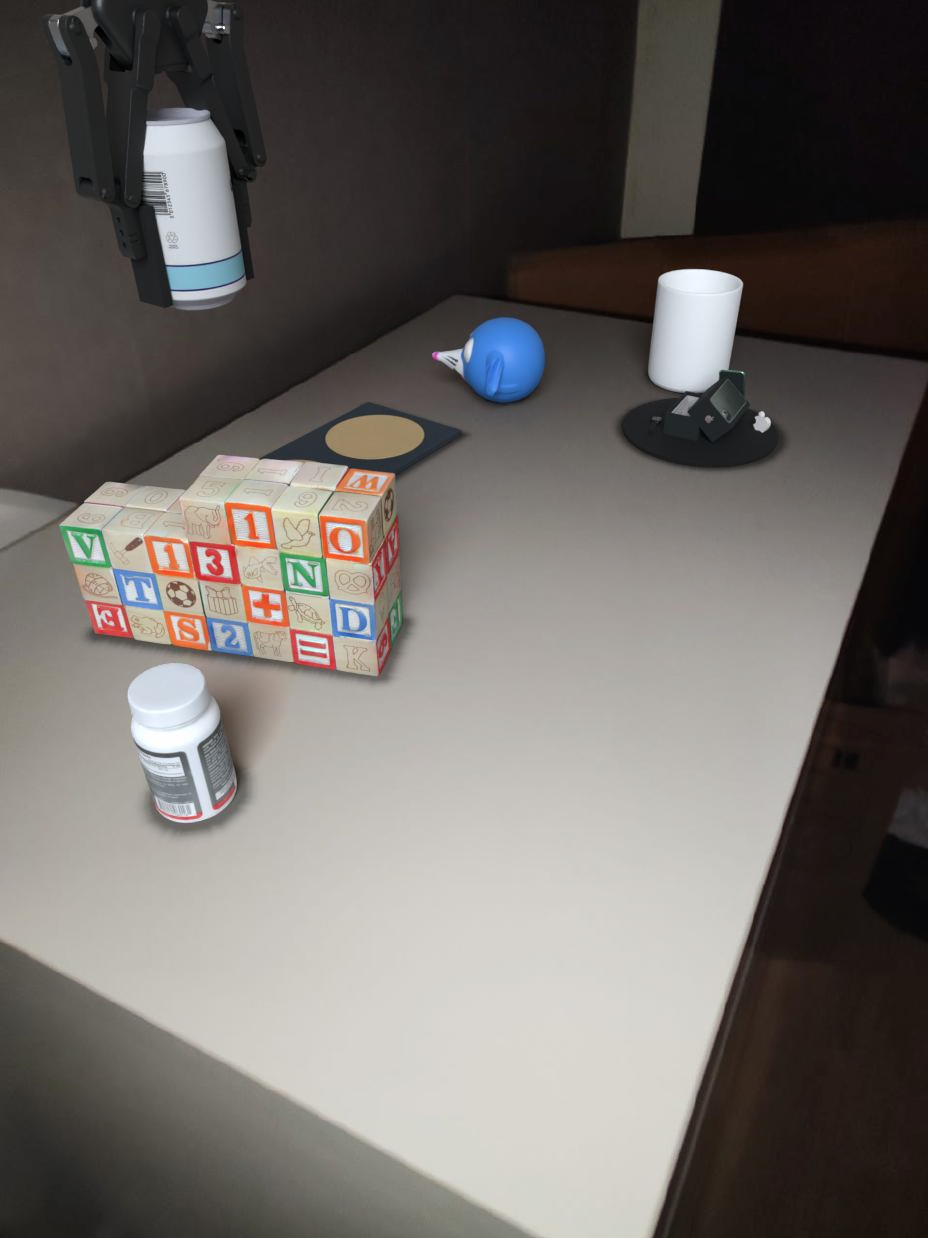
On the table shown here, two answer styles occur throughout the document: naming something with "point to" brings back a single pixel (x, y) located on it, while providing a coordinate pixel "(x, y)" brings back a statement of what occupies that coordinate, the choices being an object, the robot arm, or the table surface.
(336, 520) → the stack of blocks
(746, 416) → the apple device display stand
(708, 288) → the mug
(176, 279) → the beverage can
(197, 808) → the pill bottle
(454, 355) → the blue mole toy
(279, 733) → the table surface
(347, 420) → the mat
